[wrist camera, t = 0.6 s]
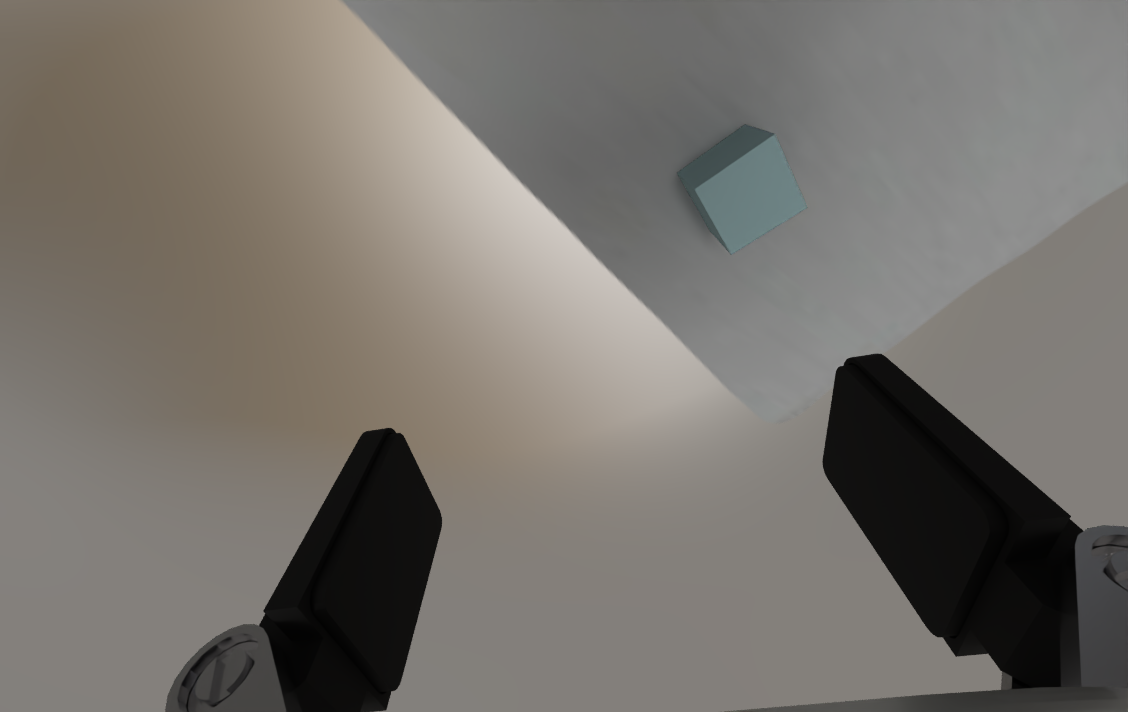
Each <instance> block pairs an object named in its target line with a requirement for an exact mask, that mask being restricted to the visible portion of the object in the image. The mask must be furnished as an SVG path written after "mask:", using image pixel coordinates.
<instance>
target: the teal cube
mask: <svg viewBox="0 0 1128 712" xmlns="http://www.w3.org/2000/svg"><path fill="white" fill-rule="evenodd" d="M677 174H678V176H679V177H680V179H681V181H682V183H683V184H684V186H685V188H686V190H687V191H688V193H689V195H690V197H691V198H692V200H693V202H694V204H695V205H696V207H697V209H698V211H699V212H700V214H701V216H702V218H703V219H704V221H705V223H706V225H707V227H708V228H709V230H710V232H711V233H712V234H713V235H714V236H715V237H716V238H717V239H718V241H719V242H720V243H721V244H722V245H723V246H724V247H725V248H726V250H727V251H728V252H729V253H730V254H731V255H732V254H733V253H735V252H737V251H738V250H740V249H742V248H743V247H745V246H746V245H748V244H750V243H751V242H753V241H754V240H756V239H758V238H759V237H761V236H763V235H764V234H766V233H767V232H769V231H771V230H772V229H774V228H775V227H777V226H779V225H780V224H782V223H783V222H785V221H787V220H788V219H790V218H792V217H793V216H795V215H796V214H798V213H800V212H801V211H803V210H804V209H806V208H807V205H806V203H805V201H804V199H803V196H802V194H801V192H800V190H799V187H798V185H797V183H796V180H795V178H794V176H793V174H792V171H791V169H790V167H789V165H788V162H787V160H786V158H785V156H784V153H783V151H782V149H781V146H780V144H779V142H778V140H777V137H776V135H775V134H773V133H770V132H767V131H764V130H761V129H758V128H755V127H752V126H749V125H746V124H745V125H744V126H742V127H741V128H739V129H738V130H737V131H735V132H734V133H732V134H731V135H729V136H728V137H727V138H725V139H724V140H722V141H721V142H720V143H718V144H717V145H715V146H714V147H713V148H711V149H710V150H708V151H707V152H706V153H704V154H703V155H701V156H700V157H699V158H697V159H696V160H694V161H693V162H692V163H690V164H689V165H687V166H686V167H685V168H683V169H682V170H680V171H679V172H678V173H677Z"/></svg>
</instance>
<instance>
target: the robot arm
mask: <svg viewBox="0 0 1128 712" xmlns="http://www.w3.org/2000/svg"><path fill="white" fill-rule="evenodd" d="M823 468H824V472H825V474H826V476H827V478H828V480H829V481H830V483H831V484H832V486H833V488H834V489H835V490H836V492H837V493H838V495H839V497H840V498H841V499H842V501H843V502H844V504H845V505H846V507H847V509H848V510H849V511H850V513H851V514H852V516H853V518H854V519H855V520H856V522H857V524H858V525H859V527H860V528H861V530H862V531H863V533H864V534H865V536H866V537H867V539H868V540H869V541H870V543H871V544H872V546H873V548H874V549H875V550H876V552H877V554H878V555H879V557H880V558H881V560H882V561H883V563H884V564H885V566H886V567H887V569H888V570H889V572H890V573H891V575H892V576H893V578H894V579H895V581H896V582H897V584H898V585H899V587H900V588H901V590H902V591H903V592H904V594H905V595H906V597H907V599H908V600H909V601H910V603H911V605H912V606H913V608H914V609H915V610H916V612H917V614H918V615H919V616H920V618H921V620H922V621H923V623H924V624H925V626H926V627H927V628H928V629H929V631H930V632H931V633H932V634H933V635H935V636H937V637H943V638H944V640H945V641H946V643H947V644H948V646H949V647H950V648H951V650H952V652H953V653H954V654H955V656H956V657H957V656H967V655H977V654H989V655H990V656H991V658H992V659H993V660H994V662H995V663H996V665H997V666H998V667H999V669H1000V670H1001V671H1002V683H1001V690H993V691H979V692H963V693H947V694H931V695H918V696H905V697H893V698H882V699H870V700H858V701H845V702H833V703H821V704H810V705H797V706H784V707H772V708H761V709H749V710H737V711H726V712H1128V527H1124V526H1106V525H1103V526H1097V527H1092V528H1087V529H1086V530H1085V531H1083V530H1082V529H1081V528H1079V527H1078V526H1077V525H1076V524H1075V523H1074V522H1073V521H1071V520H1070V517H1071V516H1070V515H1069V514H1068V513H1067V512H1066V511H1064V510H1063V509H1062V508H1061V507H1060V506H1059V505H1057V504H1056V503H1055V502H1054V501H1053V500H1052V499H1050V498H1049V497H1048V496H1047V495H1046V494H1045V493H1043V492H1042V491H1041V490H1040V489H1039V488H1038V487H1037V486H1035V485H1034V484H1033V483H1032V482H1031V481H1030V480H1028V479H1027V478H1026V477H1025V476H1024V475H1023V474H1021V473H1020V472H1019V471H1018V470H1017V469H1016V468H1014V467H1013V466H1012V465H1011V464H1010V463H1008V462H1007V461H1006V460H1005V459H1004V458H1003V457H1002V456H1000V455H999V454H998V453H997V452H996V451H995V450H993V449H992V448H991V447H990V446H989V445H988V444H986V443H985V442H984V441H983V440H982V439H980V437H978V436H977V435H976V434H975V433H974V432H973V431H971V430H970V429H969V428H968V427H967V426H966V425H964V424H963V423H962V422H961V421H960V420H958V419H957V418H956V417H955V416H954V415H953V414H952V413H950V412H949V411H948V410H947V409H946V408H945V407H943V406H942V405H941V404H940V403H938V402H937V401H936V400H935V399H934V398H933V397H932V396H930V395H929V394H928V393H927V392H926V391H925V390H924V389H922V388H921V387H920V386H919V385H918V384H917V383H916V382H914V381H913V380H912V379H911V378H910V377H909V376H907V375H906V374H905V373H904V372H903V371H902V370H900V369H899V368H898V367H897V366H896V365H895V364H893V363H892V362H891V361H890V360H889V359H888V358H886V357H885V356H884V355H882V354H871V355H865V356H858V357H852V358H848V359H847V360H846V361H845V362H844V366H840V367H838V369H837V371H836V375H835V382H834V388H833V395H832V402H831V408H830V415H829V422H828V428H827V435H826V441H825V448H824V455H823ZM441 527H442V517H441V513H440V510H439V508H438V506H437V504H436V502H435V500H434V498H433V496H432V494H431V491H430V489H429V487H428V485H427V483H426V481H425V479H424V477H423V475H422V473H421V471H420V469H419V467H418V465H417V463H416V460H415V458H414V456H413V454H412V452H411V450H410V448H409V446H408V444H407V442H406V440H405V438H404V436H403V435H402V434H401V433H396V432H395V431H394V430H393V429H392V428H385V429H379V430H372V431H366V432H364V433H363V434H362V435H361V437H360V439H359V440H358V442H357V444H356V446H355V447H354V449H353V451H352V453H351V455H350V456H349V458H348V460H347V462H346V463H345V465H344V467H343V469H342V471H341V472H340V474H339V476H338V478H337V480H336V481H335V483H334V485H333V487H332V489H331V490H330V492H329V494H328V496H327V498H326V499H325V501H324V503H323V505H322V507H321V508H320V510H319V512H318V514H317V516H316V518H315V519H314V521H313V523H312V525H311V526H310V528H309V530H308V532H307V534H306V535H305V537H304V539H303V541H302V542H301V544H300V546H299V548H298V550H297V552H296V553H295V555H294V557H293V559H292V560H291V562H290V564H289V566H288V568H287V570H286V572H285V573H284V575H283V577H282V578H281V580H280V582H279V584H278V586H277V587H276V589H275V591H274V593H273V595H272V596H271V598H270V600H269V602H268V604H267V605H266V607H265V609H264V612H265V616H264V617H263V619H262V621H261V623H260V625H259V626H258V625H255V624H244V625H240V626H237V627H234V628H231V629H229V630H227V631H225V632H223V633H222V634H220V635H218V636H216V637H215V638H214V639H212V640H211V641H210V642H208V643H207V644H206V645H204V646H203V647H202V648H201V649H200V650H199V651H198V652H197V653H196V654H195V655H194V656H193V657H192V658H191V659H190V660H189V661H188V662H187V663H186V665H185V666H184V667H183V669H182V670H181V672H180V673H179V674H178V676H177V677H176V679H175V681H174V683H173V685H172V687H171V689H170V692H169V694H168V697H167V703H166V709H165V712H374V711H383V710H386V709H387V705H388V702H389V698H390V695H391V691H395V690H396V689H397V688H398V686H399V685H400V682H401V679H402V675H403V672H404V668H405V664H406V660H407V656H408V653H409V649H410V645H411V641H412V637H413V634H414V630H415V626H416V623H417V619H418V615H419V611H420V607H421V603H422V600H423V596H424V592H425V588H426V585H427V581H428V577H429V573H430V570H431V565H432V562H433V558H434V554H435V550H436V547H437V543H438V539H439V535H440V532H441Z"/></svg>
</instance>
